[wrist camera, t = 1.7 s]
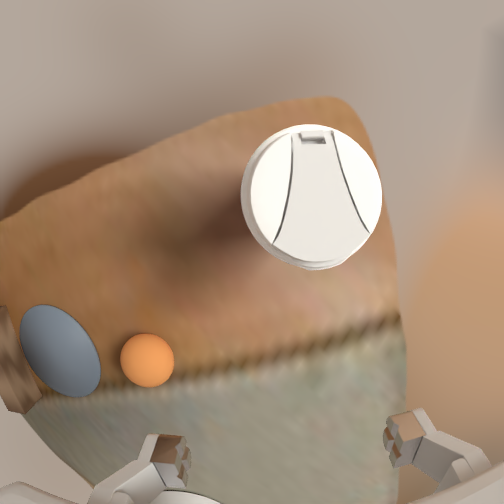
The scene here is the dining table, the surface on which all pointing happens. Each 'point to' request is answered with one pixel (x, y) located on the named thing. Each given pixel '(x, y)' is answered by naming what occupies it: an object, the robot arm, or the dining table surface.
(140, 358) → the ball
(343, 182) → the paper cup
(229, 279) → the dining table surface
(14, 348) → the block
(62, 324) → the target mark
